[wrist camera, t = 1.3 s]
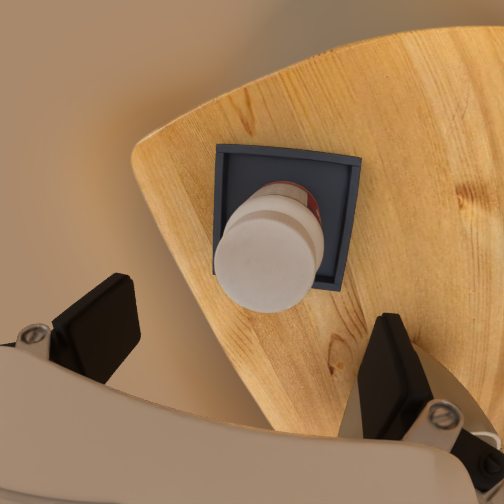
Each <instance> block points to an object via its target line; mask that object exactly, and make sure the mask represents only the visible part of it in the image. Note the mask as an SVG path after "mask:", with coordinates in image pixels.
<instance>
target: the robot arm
mask: <svg viewBox="0 0 504 504" xmlns="http://www.w3.org/2000/svg"><path fill="white" fill-rule="evenodd" d="M52 324H53V327H54V329H53V330H52V331H51V330H50V328H49V327H48V326H47V325H45V324H32V325H29V326H27V327H25V328H24V329H22V330H21V332H19V334H18V337H17V341H16V342H14V343H8V344H3V345H0V504H504V454H503V453H502V452H500V451H499V450H498V449H496V448H495V447H493V446H491V445H490V444H488V443H486V442H485V441H483V440H481V439H480V438H478V437H476V436H475V435H473V434H472V433H470V432H468V431H467V430H465V429H463V428H462V426H463V423H464V415H463V413H462V411H461V409H460V408H459V407H458V406H457V405H456V404H455V403H453V402H452V401H449V400H447V399H441V398H439V399H434V396H433V394H432V391H431V388H430V385H429V382H428V380H427V377H426V374H425V372H424V369H423V367H422V364H421V361H420V359H419V356H418V354H417V352H416V351H415V350H414V348H413V346H412V343H411V341H410V339H409V336H408V334H407V332H406V329H405V327H404V325H403V322H402V320H401V318H400V315H399V314H394V313H383V314H382V316H378V317H377V319H376V322H375V325H374V328H373V331H372V334H371V337H370V340H369V343H368V346H367V349H366V352H365V355H364V357H363V360H362V363H361V366H360V368H359V371H358V375H357V383H358V391H359V399H360V409H361V419H362V430H363V439H356V438H338V437H326V436H315V435H305V434H296V433H288V432H280V431H272V430H267V429H260V428H255V427H249V426H243V425H239V424H233V423H229V422H224V421H220V420H215V419H211V418H207V417H203V416H199V415H195V414H191V413H187V412H184V411H180V410H176V409H173V408H170V407H166V406H163V405H160V404H157V403H153V402H150V401H147V400H144V399H142V398H138V397H136V396H133V395H130V394H127V393H124V392H121V391H119V390H116V389H114V388H111V387H109V386H106V385H105V383H106V382H107V381H108V380H109V378H110V377H111V376H112V375H113V373H114V372H115V371H116V369H117V368H118V367H119V366H120V365H121V363H122V362H123V361H124V360H125V359H126V357H127V356H128V355H129V354H130V352H131V351H132V350H133V349H134V347H135V346H136V345H137V344H138V342H139V341H140V338H141V332H140V326H139V320H138V313H137V306H136V299H135V291H134V283H133V280H132V279H130V276H128V275H125V274H121V273H114V274H113V275H111V276H110V277H108V278H107V279H106V280H104V281H103V282H102V283H101V284H99V285H98V286H96V287H95V288H94V289H93V290H91V291H90V292H88V293H87V294H86V295H85V296H83V297H82V298H81V299H79V300H78V301H77V302H76V303H74V304H73V305H72V306H70V307H69V308H68V309H66V310H65V311H64V312H63V313H62V314H60V315H59V316H58V317H57V318H55V319H54V320H53V321H52Z"/></svg>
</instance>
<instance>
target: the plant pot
mask: <svg viewBox="0 0 504 504" xmlns="http://www.w3.org/2000/svg"><path fill="white" fill-rule="evenodd" d="M411 343H412V346H413V348H414V350H415V351H416V352H417V354H418V356H419V359H420V361H421V364H422V367H423V369H424V372H425V374H426V377H427V380H428V382H429V385H430V388H431V391H432V394H433V396H434V399H439V398H441V399H447V400H449V401H452V402H453V403H455V404H456V405H457V406H458V407H459V408H460V409H461V411H462V413H463V415H464V423H463V426H462V428H463V429H465V430H467V431H468V432H470V433H472V434H473V435H475V436H476V437H478V438H480V439H481V440H483V441H485V442H486V443H488V444H490V445H491V446H493V447H495V448H496V449H498V450H500V447H501V439H500V437H499V436H498V434H497V432H496V431H495V429H494V427H493V426H492V424H491V423H490V421H489V420H488V418H487V417H486V415H485V414H484V412H483V411H482V409H481V408H480V406H479V405H478V404H477V402H476V401H475V400H474V398H473V397H472V396H471V395H470V393H469V392H468V391H467V390H466V388H465V387H464V386H463V385H462V384H461V383H460V382H459V381H458V380H457V379H456V377H455V376H454V375H453V374H452V373H451V372H450V371H449V370H447V369H446V368H445V367H444V366H443V365H442V364H441V363H440V362H439V361H437V360H436V359H435V358H434V357H433V356H431V355H430V354H429V353H427V352H426V351H425V350H423V349H422V348H420V347H419V346H417V345H416V344H414V343H413V342H411ZM357 375H358V374H357ZM338 438H356V439H363V430H362V419H361V409H360V399H359V391H358V383H357V376H356V379H355V382H354V384H353V387H352V390H351V393H350V396H349V399H348V402H347V405H346V409H345V412H344V415H343V419H342V422H341V425H340V429H339V433H338Z"/></svg>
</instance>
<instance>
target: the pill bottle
mask: <svg viewBox="0 0 504 504" xmlns="http://www.w3.org/2000/svg"><path fill="white" fill-rule="evenodd" d="M323 252H324V237H323V231H322V225H321V218H320V211H319V207H318V205H317V202H316V200H315V199H314V197H313V196H312V195H311V193H310V192H309V191H308V190H306V189H305V188H304V187H302V186H300V185H298V184H296V183H293V182H288V181H277V182H273V183H269V184H267V185H265V186H263V187H262V188H260V189H259V190H258V191H257V192H255V193H254V194H253V195H252V196H251V197H250V198H249V199H248V200H247V201H245V202H244V203H243V204H242V205H241V206H239V207H238V209H237V210H236V211H235V212H234V213H233V214H232V216H231V217H230V219H229V220H228V222H227V224H226V227H225V230H224V233H223V237H222V239H221V240H220V242H219V244H218V246H217V249H216V252H215V257H214V268H215V274H216V277H217V280H218V282H219V284H220V286H221V288H222V289H223V291H224V292H225V293H226V294H227V295H228V296H229V297H230V298H231V299H232V300H233V301H234V302H235V303H237V304H238V305H240V306H242V307H244V308H246V309H249V310H252V311H255V312H261V313H276V312H280V311H284V310H287V309H289V308H291V307H293V306H295V305H296V304H298V303H299V302H300V301H301V300H302V299H304V297H305V296H306V295H307V294H308V292H309V291H310V289H311V287H312V285H313V282H314V278H315V273H316V272H317V270H318V268H319V266H320V264H321V261H322V258H323Z"/></svg>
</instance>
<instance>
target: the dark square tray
mask: <svg viewBox="0 0 504 504" xmlns="http://www.w3.org/2000/svg"><path fill="white" fill-rule="evenodd" d="M216 152H217V153H216V162H215V186H214V219H213V275H216V274H215V268H214V257H215V252H216V249H217V246H218V244H219V242H220V240H221V239H222V237H223V233H224V230H225V227H226V224H227V222H228V220H229V219H230V217H231V216H232V214H233V213H234V212H235V211H236V210H237V209H238V207H239V206H241V205H242V204H243V203H244V202H245V201H247V200H248V199H249V198H250V197H251V196H252V195H253V194H254V193H255V192H257V191H258V190H259V189H260V188H262V187H263V186H265V185H267V184H269V183H273V182H277V181H288V182H293V183H296V184H298V185H300V186H302V187H304V188H305V189H306V190H308V191H309V192H310V193H311V195H312V196H313V197H314V199H315V200H316V202H317V205H318V207H319V211H320V218H321V225H322V231H323V237H324V252H323V258H322V261H321V264H320V266H319V268H318V270H317V272H316V273H315V278H314V282H313V285H312V287H311V288H314V289H322V290H330V291H339V292H340V290H341V284H342V280H343V276H344V271H345V266H346V261H347V255H348V250H349V244H350V239H351V233H352V227H353V221H354V214H355V208H356V201H357V194H358V186H359V179H360V170H361V161H362V158H359V157H354V156H348V155H341V154H334V153H327V152H319V151H310V150H302V149H292V148H281V147H270V146H256V145H239V144H216Z"/></svg>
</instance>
